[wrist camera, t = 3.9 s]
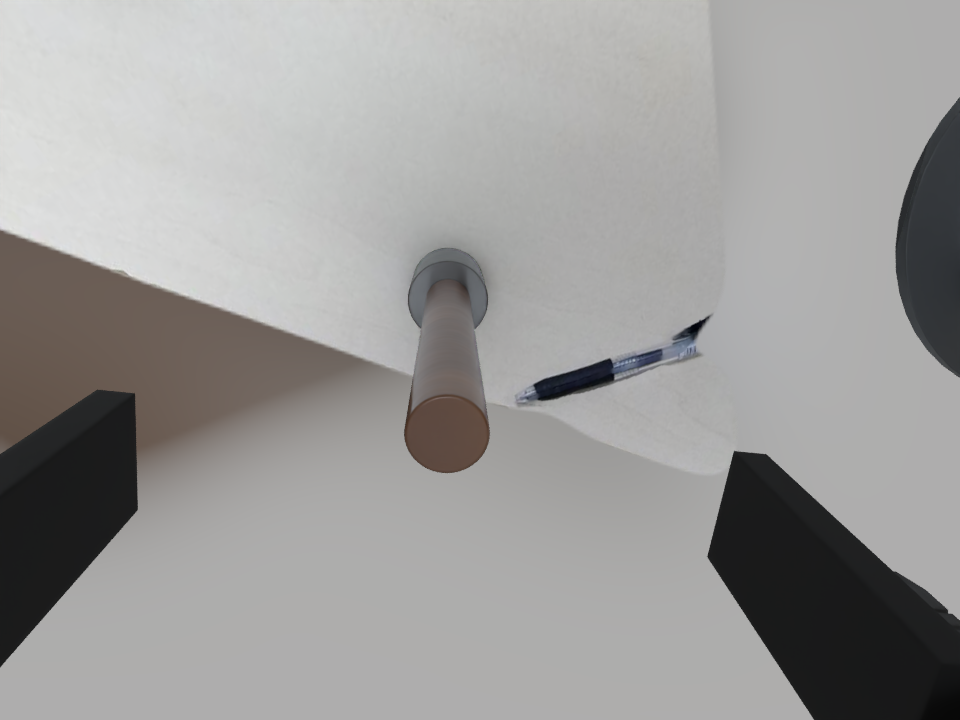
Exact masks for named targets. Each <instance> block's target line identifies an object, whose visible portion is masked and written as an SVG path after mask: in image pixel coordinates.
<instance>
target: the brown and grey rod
mask: <svg viewBox="0 0 960 720" xmlns="http://www.w3.org/2000/svg"><path fill="white" fill-rule="evenodd" d="M487 305H488V295H487V290H486V286H485V283H484V279H483V276H482V273H481V270H480V268H479V266H478V264H477V263H476V261H475V260H474V259H473V258H472V257H471V256H470V255H468V254H467V253H465V252H463V251H461V250H458V249H453V248H443V249H438V250H435V251H433V252H431V253H429V254H428V255H426V256H425V257H424V258H423V259H422V260H421V261H420V263H419V264H418V266H417V268H416V270H415V273H414V276H413V279H412V283H411V286H410V289H409V294H408V306H409V310H410V313H411V316H412V318H413V320H414V321H415V323H416V324H417V325H418V326H419V327H420V328H421V332H420V339H419V345H418V351H417V357H416V363H415V369H414V375H413V381H412V387H411V393H410V400H409V405H408V412H407V418H406V424H405V430H404V436H405V442H406V446H407V448H408V450H409V452H410V454H411V455H412V456H413V458H414V459H415V460H416V461H417V462H418V463H420V464H421V465H422V466H424V467H425V468H427V469H430V470H432V471H436V472H441V473H453V472H458V471H461V470H464V469H466V468H468V467H470V466H471V465H473V464H474V463H475V462H477V461H478V460H479V459H480V458H481V456H482V455H483V454H484V452H485V450H486V448H487V445H488V442H489V436H490V430H489V423H488V416H487V409H486V402H485V396H484V389H483V382H482V376H481V369H480V362H479V356H478V349H477V342H476V336H475V328H476V327H477V326H478V325H479V324H480V323H481V321H482V320H483V318H484V316H485V313H486V310H487Z"/></svg>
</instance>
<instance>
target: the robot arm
mask: <svg viewBox="0 0 960 720" xmlns="http://www.w3.org/2000/svg"><path fill="white" fill-rule="evenodd" d="M136 459H137V458H136V416H135V394H134V393H125V392H114V391H103V390H96V391H95V392H93V393H92V394H90V395H89V396H87V397H86V398H84V399H83V400H81V401H80V402H78V403H77V404H75V405H74V406H72V407H71V408H69V409H68V410H66V411H65V412H63V413H62V414H60V415H59V416H57V417H56V418H54V419H53V420H51V421H50V422H48V423H47V424H45V425H44V426H42V427H41V428H39V429H38V430H36V431H34V432H33V433H32V434H30V435H28V436H27V437H25V438H24V439H22V440H21V441H20V442H18V443H17V444H15V445H13V446H12V447H10V448H9V449H7V450H6V451H5V452H3V453H1V454H0V667H1V666H2V665H3V663H4V662H5V661H6V660H7V659H8V658H9V656H10V655H11V654H12V653H13V652H14V651H15V650H16V649H17V647H18V646H19V645H20V644H21V643H22V642H23V641H24V639H25V638H26V637H27V636H28V635H29V634H30V632H31V631H32V630H33V629H34V628H35V626H36V625H38V623H39V622H40V621H41V620H42V619H43V618H44V616H45V615H46V614H47V613H48V612H49V611H50V610H51V608H52V607H53V606H54V605H55V604H56V603H57V601H58V600H59V599H60V598H61V597H62V596H63V595H64V594H65V592H66V591H67V590H68V589H69V588H70V587H71V586H72V585H73V583H74V582H75V581H76V580H77V579H78V578H79V577H80V575H81V574H82V573H83V572H84V571H85V570H86V568H87V567H88V566H89V565H90V564H91V563H92V561H93V560H94V559H95V558H96V557H97V556H98V555H99V554H100V552H101V551H102V550H103V549H104V548H105V547H106V546H107V544H108V543H109V542H110V541H111V539H113V538H114V536H115V535H116V534H117V533H118V532H119V531H120V530H121V528H122V527H123V526H124V525H125V524H126V523H127V522H128V520H129V519H130V518H131V517H132V516H133V515H134V514H135V512H136V511H137V510H138V500H137V460H136ZM708 559H709V560H710V562H711V563H712V565H713V566H714V568H715V569H716V571H717V572H718V574H719V575H720V577H721V579H722V580H723V582H724V583H725V585H726V586H727V588H728V589H729V591H730V592H731V594H732V595H733V597H734V598H735V600H736V601H737V603H738V604H739V606H740V607H741V609H742V610H743V612H744V613H745V615H746V617H747V618H748V620H749V621H750V622H751V624H752V626H753V627H754V629H755V630H756V632H757V633H758V635H759V636H760V638H761V639H762V641H763V643H764V644H765V645H766V647H767V648H768V650H769V652H770V653H771V655H772V656H773V658H774V659H775V661H776V662H777V664H778V665H779V667H780V668H781V670H782V671H783V673H784V674H785V676H786V678H787V679H788V681H789V682H790V684H791V685H792V686H793V688H794V690H795V691H796V693H797V694H798V696H799V697H800V699H801V700H802V702H803V703H804V705H805V706H806V708H807V709H808V711H809V713H810V714H811V716H812V717H813V719H814V720H960V620H959V619H957V618H956V617H955V616H954V615H953V614H948V610H947V609H946V608H945V607H944V606H943V605H942V604H941V603H940V602H938V601H937V600H936V599H935V598H934V597H933V596H932V595H931V594H930V593H928V592H927V591H926V590H925V589H923V588H922V587H920V586H918V585H916V584H915V583H913V582H912V581H910V580H908V579H907V578H905V577H904V576H902V575H900V574H899V573H897V572H893V571H892V570H891V569H890V568H889V567H887V565H886V564H884V563H883V562H882V561H881V560H880V559H879V558H878V557H877V556H876V555H875V554H874V553H872V551H870V550H869V549H868V548H867V547H866V546H865V545H864V544H863V543H861V541H860V540H858V539H857V538H856V537H855V536H854V535H853V534H852V533H851V532H850V531H849V530H848V529H847V528H845V527H844V526H843V525H842V524H841V523H840V522H839V521H838V520H837V519H836V518H835V517H833V515H831V514H830V513H829V512H828V511H827V510H826V509H825V508H824V507H823V506H822V505H820V504H819V503H818V502H817V501H816V500H815V499H814V498H813V497H812V496H811V495H810V494H809V493H808V492H806V491H805V490H804V489H803V488H802V487H801V486H800V485H799V484H798V483H797V482H796V481H795V480H793V479H792V478H791V477H790V476H789V475H788V474H787V473H786V472H785V471H784V470H783V469H782V468H780V467H779V466H778V465H777V464H776V463H775V462H774V461H773V460H772V459H771V458H770V457H769V456H768V455H766V454H757V453H747V452H737V451H734V453H733V457H732V461H731V465H730V469H729V473H728V477H727V481H726V485H725V489H724V493H723V497H722V501H721V505H720V509H719V513H718V517H717V520H716V525H715V529H714V532H713V536H712V540H711V545H710V548H709V552H708Z"/></svg>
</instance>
